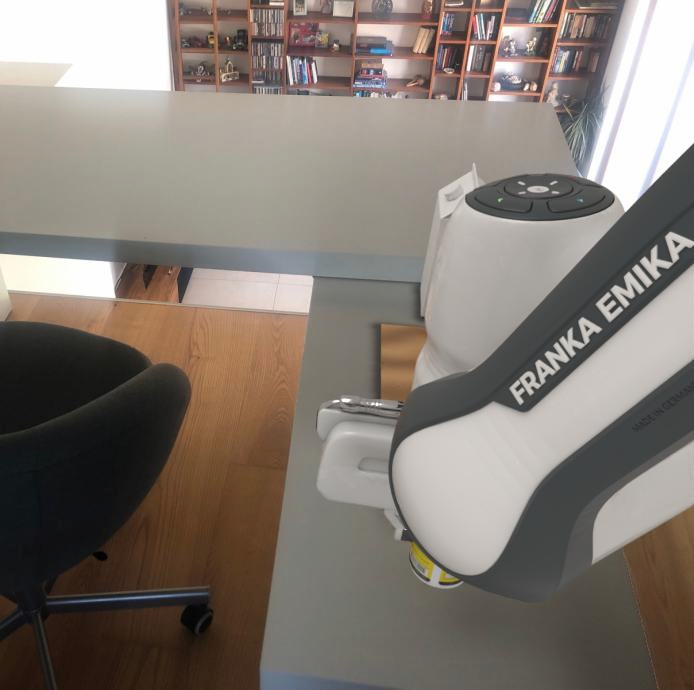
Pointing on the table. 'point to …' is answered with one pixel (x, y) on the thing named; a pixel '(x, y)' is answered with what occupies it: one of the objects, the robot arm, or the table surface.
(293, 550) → the table surface
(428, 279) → the milk carton
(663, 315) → the robot arm
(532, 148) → the table surface
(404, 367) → the wooden board
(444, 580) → the supplement bottle
